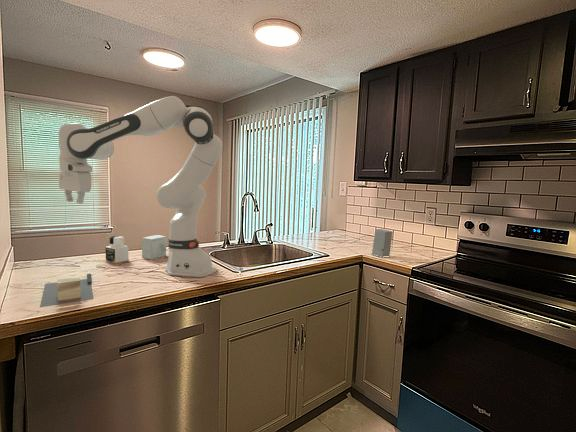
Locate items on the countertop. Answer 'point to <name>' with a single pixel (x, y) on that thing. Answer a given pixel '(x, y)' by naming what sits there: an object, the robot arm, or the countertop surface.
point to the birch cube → (68, 288)
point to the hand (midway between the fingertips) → (74, 202)
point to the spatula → (88, 266)
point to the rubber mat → (52, 299)
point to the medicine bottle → (117, 250)
